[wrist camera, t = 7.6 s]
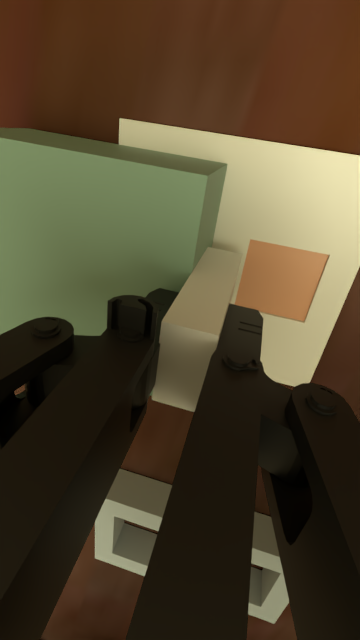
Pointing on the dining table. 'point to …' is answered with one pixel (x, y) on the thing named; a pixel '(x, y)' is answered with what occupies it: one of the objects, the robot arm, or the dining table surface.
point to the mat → (279, 234)
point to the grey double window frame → (147, 510)
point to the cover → (96, 224)
